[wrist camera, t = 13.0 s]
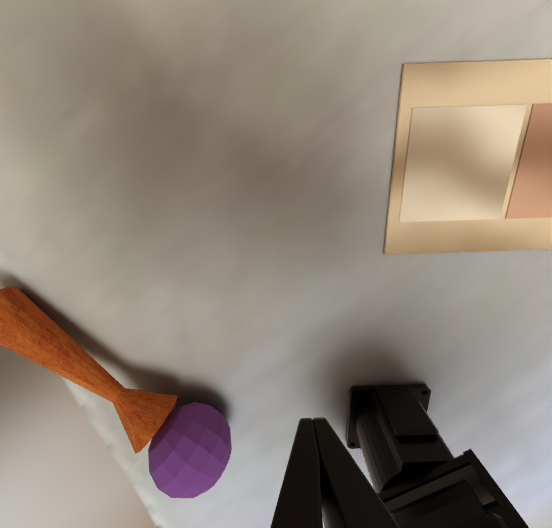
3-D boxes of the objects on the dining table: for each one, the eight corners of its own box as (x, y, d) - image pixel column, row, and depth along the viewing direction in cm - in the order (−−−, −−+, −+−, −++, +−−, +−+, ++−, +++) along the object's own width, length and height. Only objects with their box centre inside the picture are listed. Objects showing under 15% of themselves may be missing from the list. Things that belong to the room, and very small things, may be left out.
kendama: (-27, 281, 15) (245, 475, 18) (53, 266, 21) (247, 414, 24) (-93, 359, 15) (187, 538, 18) (5, 322, 21) (203, 461, 24)
